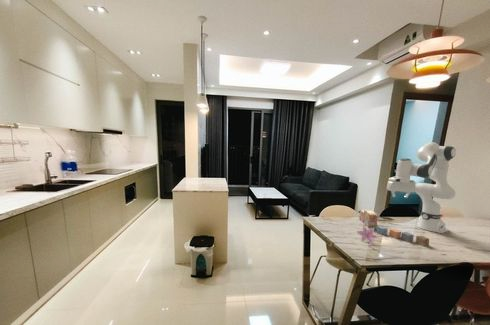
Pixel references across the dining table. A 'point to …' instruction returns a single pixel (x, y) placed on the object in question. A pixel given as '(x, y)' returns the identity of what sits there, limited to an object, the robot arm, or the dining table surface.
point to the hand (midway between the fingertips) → (399, 197)
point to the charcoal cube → (407, 236)
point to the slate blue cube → (381, 230)
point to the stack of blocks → (368, 218)
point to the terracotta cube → (395, 233)
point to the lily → (367, 234)
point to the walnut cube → (422, 240)
